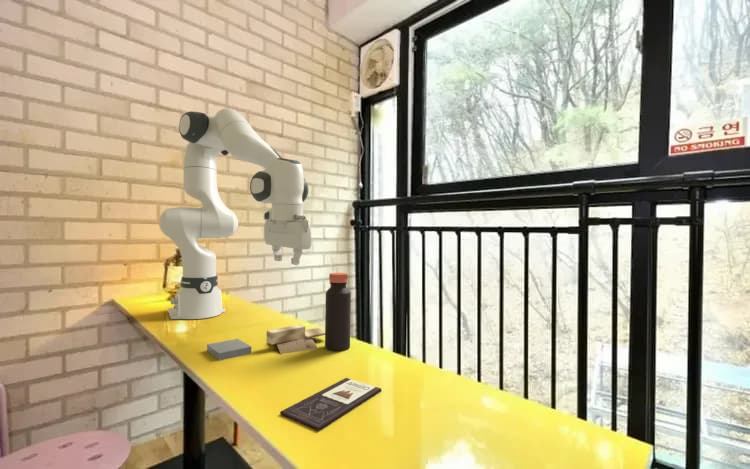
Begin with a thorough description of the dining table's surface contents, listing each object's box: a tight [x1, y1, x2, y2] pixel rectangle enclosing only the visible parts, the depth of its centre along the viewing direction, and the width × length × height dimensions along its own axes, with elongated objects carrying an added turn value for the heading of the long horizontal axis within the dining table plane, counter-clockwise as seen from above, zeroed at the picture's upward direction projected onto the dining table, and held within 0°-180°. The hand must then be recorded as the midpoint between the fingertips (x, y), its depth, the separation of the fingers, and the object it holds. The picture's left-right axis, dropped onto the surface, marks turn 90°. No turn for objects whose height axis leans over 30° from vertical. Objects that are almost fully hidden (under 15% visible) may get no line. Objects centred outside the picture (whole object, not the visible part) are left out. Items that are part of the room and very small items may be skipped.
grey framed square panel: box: [206, 338, 252, 361], centre depth 95 cm, size 2×8×9 cm
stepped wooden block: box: [265, 324, 325, 345], centre depth 102 cm, size 17×6×3 cm, turn 132°
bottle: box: [324, 272, 352, 352], centre depth 99 cm, size 7×7×20 cm
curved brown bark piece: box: [276, 338, 318, 355], centre depth 101 cm, size 14×10×3 cm
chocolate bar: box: [279, 377, 382, 432], centre depth 68 cm, size 9×1×18 cm
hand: (286, 262), depth 107 cm, fingers open, 8 cm apart
